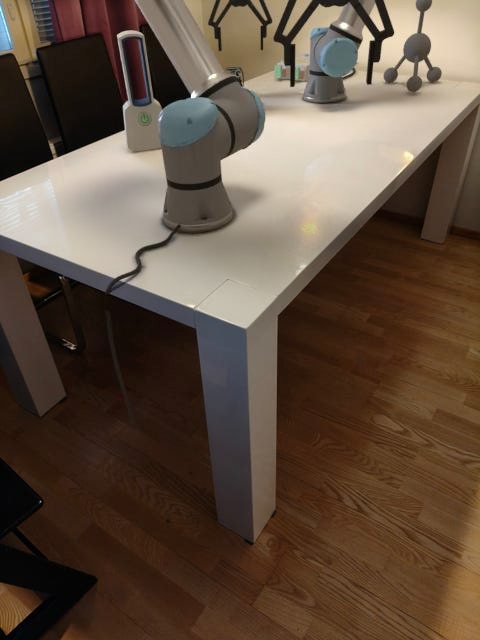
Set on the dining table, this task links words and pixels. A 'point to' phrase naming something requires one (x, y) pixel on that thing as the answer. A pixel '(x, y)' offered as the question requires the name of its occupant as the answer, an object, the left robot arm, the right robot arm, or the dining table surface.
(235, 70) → the grenade
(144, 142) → the electronic device
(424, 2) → the molecular model
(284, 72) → the plastic storage case
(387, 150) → the dining table surface
